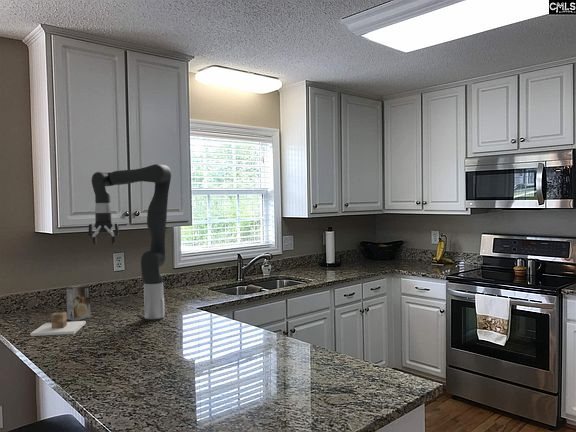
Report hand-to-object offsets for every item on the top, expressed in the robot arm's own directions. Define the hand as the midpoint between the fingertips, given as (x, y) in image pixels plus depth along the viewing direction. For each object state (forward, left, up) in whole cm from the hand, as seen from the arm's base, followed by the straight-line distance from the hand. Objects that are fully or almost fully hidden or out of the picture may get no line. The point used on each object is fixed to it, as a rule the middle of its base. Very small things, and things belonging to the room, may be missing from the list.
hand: (104, 244), depth 242 cm
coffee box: (+12, +4, -36) cm, 38 cm away
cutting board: (+15, +24, -36) cm, 46 cm away
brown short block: (+15, +24, -35) cm, 45 cm away
